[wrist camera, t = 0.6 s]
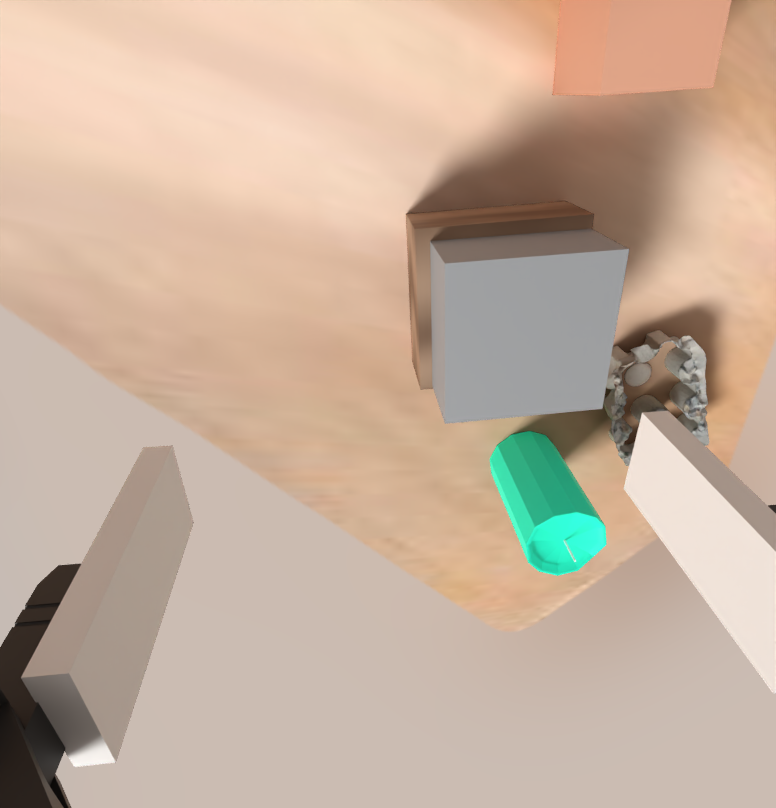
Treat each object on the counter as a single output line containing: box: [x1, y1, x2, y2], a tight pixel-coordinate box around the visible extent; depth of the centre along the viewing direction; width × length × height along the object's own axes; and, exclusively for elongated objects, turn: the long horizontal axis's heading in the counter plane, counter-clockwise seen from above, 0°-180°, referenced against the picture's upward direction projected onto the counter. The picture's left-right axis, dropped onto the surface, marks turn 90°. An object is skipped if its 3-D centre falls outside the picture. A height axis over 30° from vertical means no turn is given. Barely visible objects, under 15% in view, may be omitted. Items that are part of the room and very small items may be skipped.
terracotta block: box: [553, 0, 731, 96], centre depth 29 cm, size 6×6×7 cm
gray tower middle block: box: [430, 229, 629, 424], centre depth 34 cm, size 10×10×5 cm
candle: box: [490, 431, 606, 576], centre depth 43 cm, size 6×6×12 cm
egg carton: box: [603, 330, 709, 466], centre depth 44 cm, size 11×8×4 cm
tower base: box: [406, 201, 594, 390], centre depth 38 cm, size 11×11×5 cm
